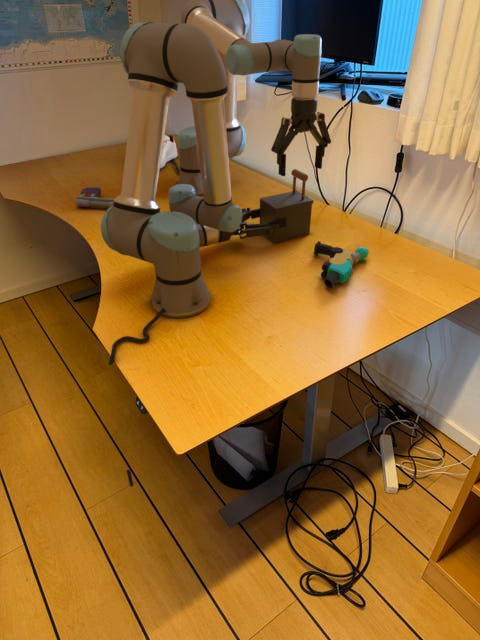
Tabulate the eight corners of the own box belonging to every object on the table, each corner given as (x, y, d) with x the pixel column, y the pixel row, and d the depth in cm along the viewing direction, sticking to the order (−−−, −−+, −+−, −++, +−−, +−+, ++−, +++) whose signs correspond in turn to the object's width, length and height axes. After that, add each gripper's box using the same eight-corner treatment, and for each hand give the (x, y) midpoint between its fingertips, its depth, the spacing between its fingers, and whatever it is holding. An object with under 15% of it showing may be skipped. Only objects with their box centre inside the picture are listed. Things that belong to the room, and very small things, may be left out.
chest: (293, 223, 165) (295, 193, 158) (309, 234, 158) (312, 203, 151) (259, 231, 159) (259, 201, 153) (274, 243, 152) (275, 212, 146)
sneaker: (133, 173, 208) (129, 144, 201) (161, 153, 230) (158, 127, 223) (155, 175, 205) (151, 146, 198) (180, 155, 227) (178, 129, 220)
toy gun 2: (291, 269, 129) (345, 283, 123) (323, 233, 148) (371, 243, 142) (290, 283, 132) (343, 297, 126) (322, 246, 150) (369, 256, 145)
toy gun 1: (132, 197, 185) (117, 212, 173) (88, 194, 188) (70, 209, 177) (131, 187, 183) (115, 202, 171) (86, 184, 186) (67, 199, 174)
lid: (296, 193, 158) (298, 166, 153) (313, 203, 152) (315, 175, 146) (259, 201, 153) (260, 173, 148) (275, 212, 146) (276, 183, 141)
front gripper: (200, 228, 155) (259, 214, 164) (231, 257, 139) (295, 240, 148) (199, 207, 151) (259, 193, 159) (231, 233, 135) (297, 217, 143)
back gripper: (331, 90, 143) (325, 161, 156) (260, 100, 134) (259, 174, 146) (347, 95, 138) (339, 167, 150) (274, 105, 129) (272, 181, 141)
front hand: (277, 216), depth 153 cm, fingers closed on chest, 10 cm apart
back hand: (300, 171), depth 148 cm, fingers open, 13 cm apart
